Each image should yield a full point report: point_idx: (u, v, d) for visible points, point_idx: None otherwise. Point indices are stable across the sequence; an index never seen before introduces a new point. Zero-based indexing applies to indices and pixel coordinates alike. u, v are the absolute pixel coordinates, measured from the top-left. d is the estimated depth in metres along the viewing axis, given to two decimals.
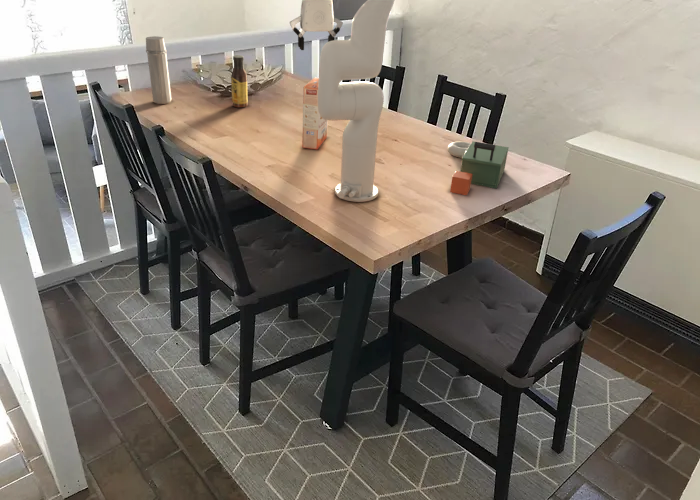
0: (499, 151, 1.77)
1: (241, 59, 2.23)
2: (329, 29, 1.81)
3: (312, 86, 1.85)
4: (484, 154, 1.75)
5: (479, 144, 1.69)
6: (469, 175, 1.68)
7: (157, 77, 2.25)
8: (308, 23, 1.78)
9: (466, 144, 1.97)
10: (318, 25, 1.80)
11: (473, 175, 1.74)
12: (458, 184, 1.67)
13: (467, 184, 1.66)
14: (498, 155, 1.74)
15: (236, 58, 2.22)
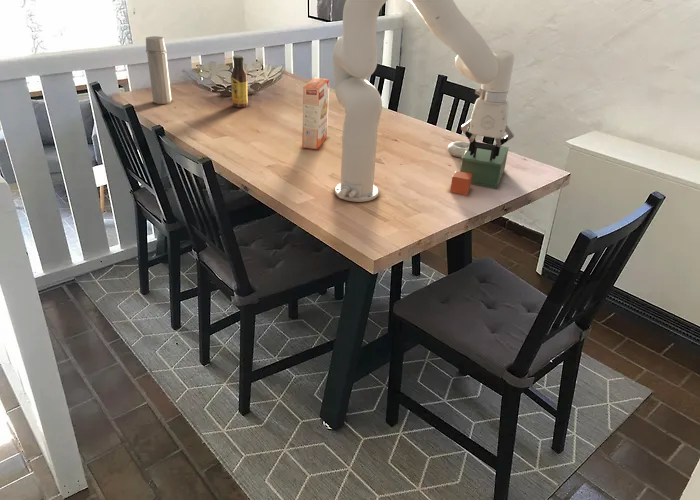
0: (499, 151, 1.77)
1: (241, 59, 2.23)
2: (497, 136, 1.64)
3: (312, 86, 1.85)
4: (484, 154, 1.75)
5: (479, 144, 1.69)
6: (469, 175, 1.68)
7: (157, 77, 2.25)
8: (475, 127, 1.65)
9: (466, 144, 1.97)
10: (485, 130, 1.64)
11: (473, 175, 1.74)
12: (458, 184, 1.67)
13: (467, 184, 1.66)
14: None
15: (236, 58, 2.22)
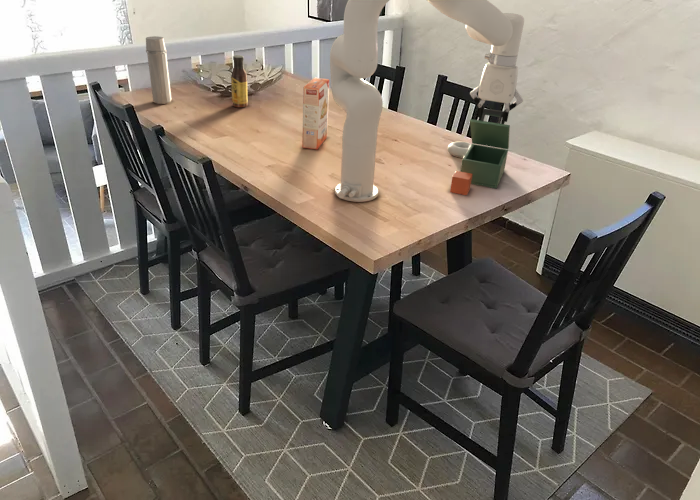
0: None
1: (241, 59, 2.23)
2: (506, 101, 1.65)
3: (312, 86, 1.85)
4: None
5: (488, 109, 1.70)
6: (469, 175, 1.68)
7: (157, 77, 2.25)
8: (484, 91, 1.66)
9: (466, 144, 1.97)
10: (494, 95, 1.65)
11: (473, 175, 1.74)
12: (458, 184, 1.67)
13: (467, 184, 1.66)
14: None
15: (236, 58, 2.22)
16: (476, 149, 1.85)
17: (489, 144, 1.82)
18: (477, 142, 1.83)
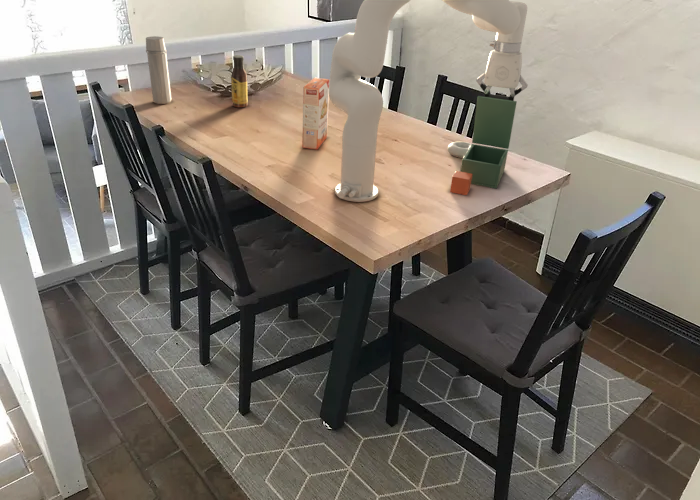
0: None
1: (241, 59, 2.23)
2: (512, 86, 1.71)
3: (312, 86, 1.85)
4: None
5: None
6: (469, 175, 1.68)
7: (157, 77, 2.25)
8: (490, 78, 1.72)
9: (466, 144, 1.97)
10: (500, 81, 1.72)
11: (473, 175, 1.74)
12: (458, 184, 1.67)
13: (467, 184, 1.66)
14: None
15: (236, 58, 2.22)
16: (476, 149, 1.85)
17: (490, 141, 1.82)
18: (478, 139, 1.83)
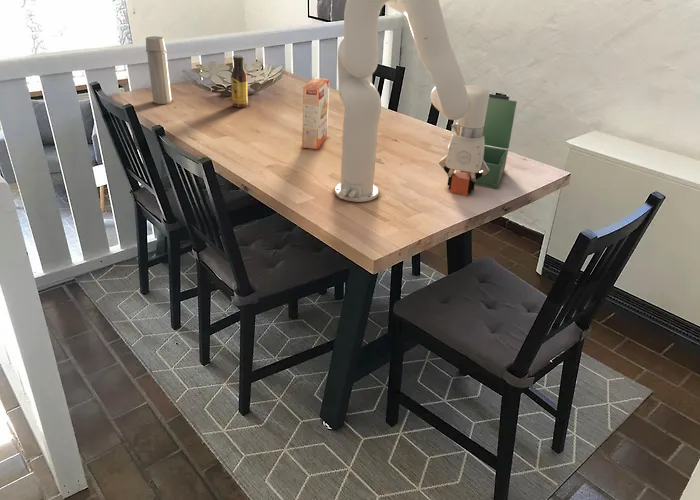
0: None
1: (241, 59, 2.23)
2: (474, 171, 1.63)
3: (312, 86, 1.85)
4: None
5: None
6: (469, 175, 1.68)
7: (157, 77, 2.25)
8: (451, 161, 1.64)
9: None
10: (462, 165, 1.63)
11: None
12: (458, 184, 1.67)
13: (467, 184, 1.66)
14: None
15: (236, 58, 2.22)
16: None
17: (490, 141, 1.82)
18: None
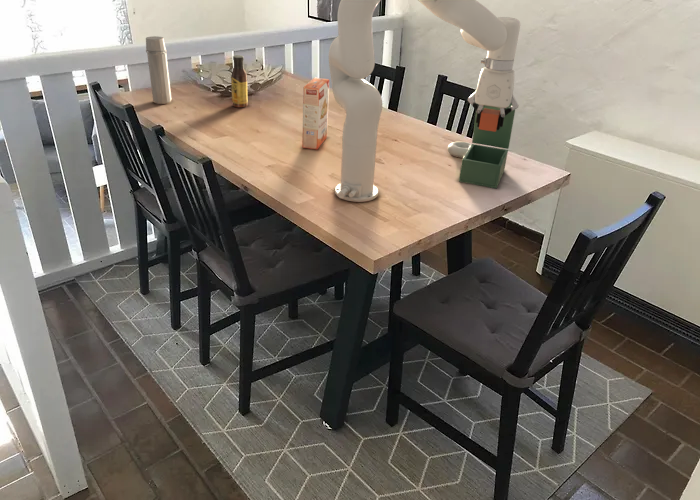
0: None
1: (241, 59, 2.23)
2: (503, 106, 1.63)
3: (312, 86, 1.85)
4: None
5: None
6: (498, 111, 1.68)
7: (157, 77, 2.25)
8: (480, 96, 1.64)
9: (466, 144, 1.97)
10: (491, 100, 1.63)
11: (473, 175, 1.74)
12: (487, 121, 1.67)
13: (496, 120, 1.66)
14: None
15: (236, 58, 2.22)
16: (476, 149, 1.85)
17: (490, 141, 1.82)
18: (478, 139, 1.83)
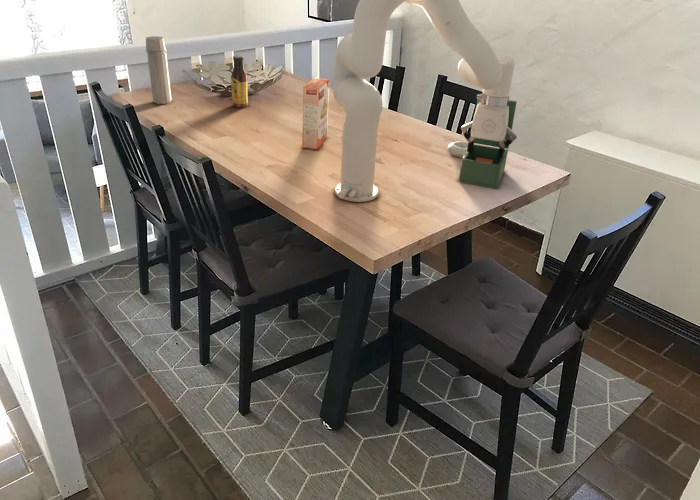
0: None
1: (241, 59, 2.23)
2: (498, 140, 1.69)
3: (312, 86, 1.85)
4: None
5: None
6: (490, 161, 1.76)
7: (157, 77, 2.25)
8: (476, 130, 1.70)
9: (466, 144, 1.97)
10: (486, 134, 1.69)
11: (473, 175, 1.74)
12: None
13: None
14: None
15: (236, 58, 2.22)
16: (476, 149, 1.85)
17: (490, 141, 1.82)
18: (478, 139, 1.83)
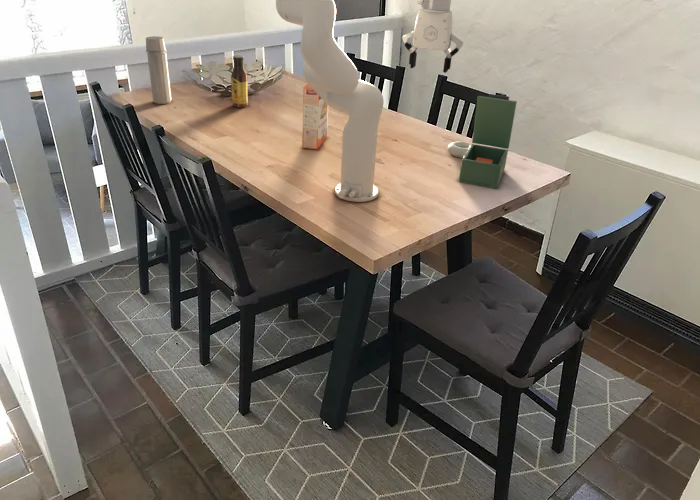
0: None
1: (241, 59, 2.23)
2: (441, 48, 1.57)
3: None
4: None
5: None
6: (490, 161, 1.76)
7: (157, 77, 2.25)
8: (418, 39, 1.58)
9: (466, 144, 1.97)
10: (429, 42, 1.57)
11: (473, 175, 1.74)
12: None
13: None
14: None
15: (236, 58, 2.22)
16: (476, 149, 1.85)
17: (490, 141, 1.82)
18: (478, 139, 1.83)
